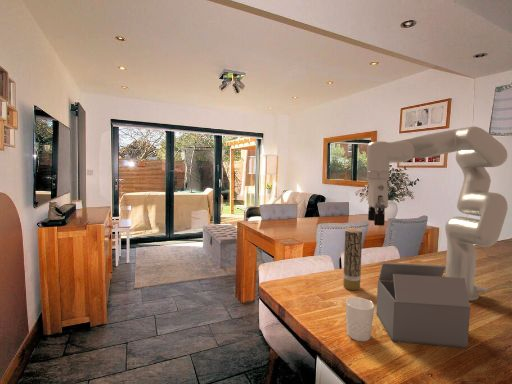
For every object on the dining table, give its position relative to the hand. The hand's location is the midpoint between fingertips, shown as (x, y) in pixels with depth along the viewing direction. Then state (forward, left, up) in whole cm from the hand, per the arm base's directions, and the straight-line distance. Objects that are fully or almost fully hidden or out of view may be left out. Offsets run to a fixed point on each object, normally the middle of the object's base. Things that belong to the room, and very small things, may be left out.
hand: (375, 222), depth 103 cm
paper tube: (+5, -14, -31) cm, 34 cm away
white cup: (+10, +22, -31) cm, 39 cm away
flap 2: (-9, +22, -15) cm, 29 cm away
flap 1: (-9, +10, -15) cm, 20 cm away
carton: (-9, +16, -31) cm, 36 cm away
